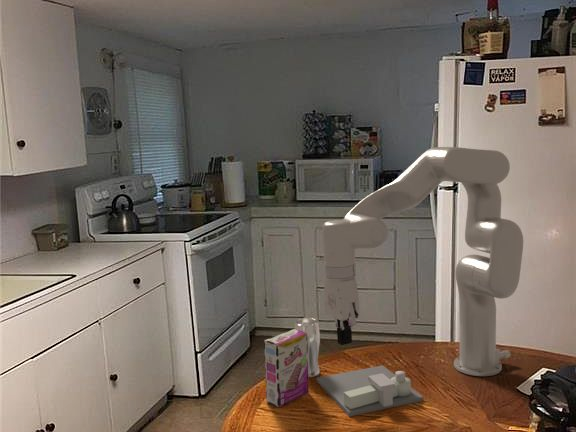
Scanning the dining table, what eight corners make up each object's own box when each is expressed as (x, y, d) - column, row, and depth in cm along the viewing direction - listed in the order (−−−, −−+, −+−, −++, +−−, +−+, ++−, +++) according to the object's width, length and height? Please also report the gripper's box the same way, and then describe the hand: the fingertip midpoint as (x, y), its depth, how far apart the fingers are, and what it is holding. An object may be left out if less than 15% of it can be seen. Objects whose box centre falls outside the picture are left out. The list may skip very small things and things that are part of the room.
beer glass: (319, 378, 153) (317, 325, 151) (294, 377, 155) (291, 325, 153) (322, 368, 160) (320, 317, 158) (298, 367, 161) (296, 317, 159)
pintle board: (382, 368, 158) (382, 347, 157) (424, 401, 137) (424, 377, 137) (316, 381, 152) (315, 359, 151) (350, 417, 131) (349, 392, 130)
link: (402, 385, 144) (402, 367, 143) (415, 393, 139) (414, 374, 138) (341, 402, 136) (341, 382, 136) (352, 410, 132) (351, 390, 131)
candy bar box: (280, 408, 137) (276, 344, 135) (265, 402, 141) (262, 340, 139) (310, 392, 145) (307, 331, 143) (296, 387, 149) (293, 327, 146)
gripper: (313, 267, 142) (317, 337, 144) (341, 280, 128) (346, 356, 131) (339, 263, 144) (343, 331, 147) (370, 274, 131) (374, 349, 134)
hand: (344, 342), depth 139 cm, fingers closed
